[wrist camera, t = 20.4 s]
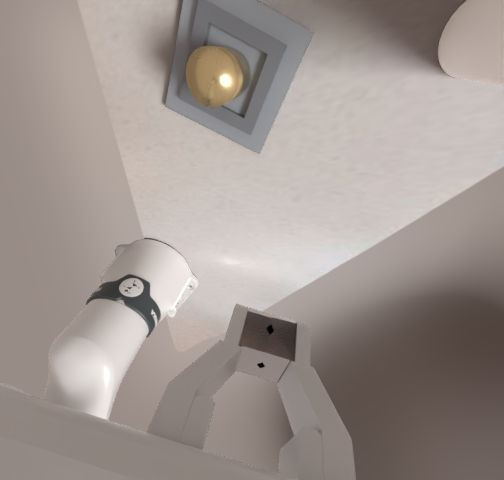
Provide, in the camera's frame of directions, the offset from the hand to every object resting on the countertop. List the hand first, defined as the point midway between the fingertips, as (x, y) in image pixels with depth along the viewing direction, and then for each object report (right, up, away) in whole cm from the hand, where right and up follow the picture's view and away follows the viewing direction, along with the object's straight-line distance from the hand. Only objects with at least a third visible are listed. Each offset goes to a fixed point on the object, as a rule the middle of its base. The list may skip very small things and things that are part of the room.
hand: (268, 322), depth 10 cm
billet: (-3, +23, +19) cm, 30 cm away
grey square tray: (-3, +24, +20) cm, 31 cm away
